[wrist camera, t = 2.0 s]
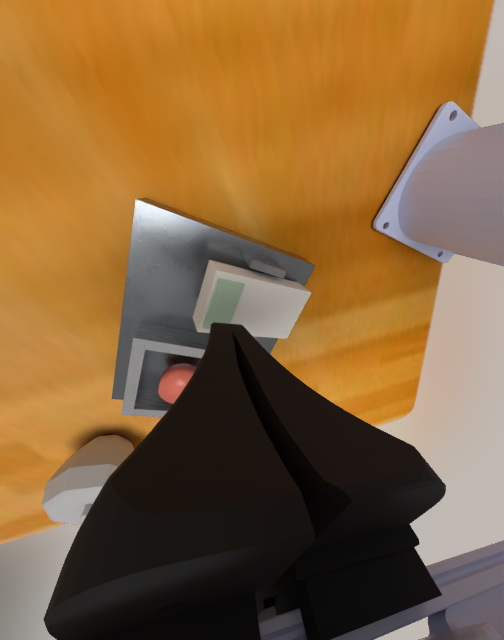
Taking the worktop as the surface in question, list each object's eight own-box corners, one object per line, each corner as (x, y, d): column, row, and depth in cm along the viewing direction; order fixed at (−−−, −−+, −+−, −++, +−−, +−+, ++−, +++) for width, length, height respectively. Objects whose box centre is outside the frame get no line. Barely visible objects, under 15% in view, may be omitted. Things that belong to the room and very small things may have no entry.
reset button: (207, 366, 17) (207, 377, 16) (197, 394, 19) (197, 405, 18) (165, 360, 16) (162, 372, 15) (157, 390, 17) (154, 402, 16)
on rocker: (298, 282, 16) (313, 293, 15) (277, 326, 18) (287, 340, 16) (209, 259, 12) (217, 271, 11) (192, 317, 14) (197, 333, 13)
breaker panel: (304, 258, 18) (328, 275, 14) (238, 393, 24) (245, 426, 21) (143, 197, 13) (125, 201, 10) (119, 381, 20) (102, 419, 17)
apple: (80, 415, 21) (39, 493, 16) (159, 429, 25) (148, 497, 19) (59, 459, 24) (18, 539, 19) (133, 466, 28) (117, 535, 22)
